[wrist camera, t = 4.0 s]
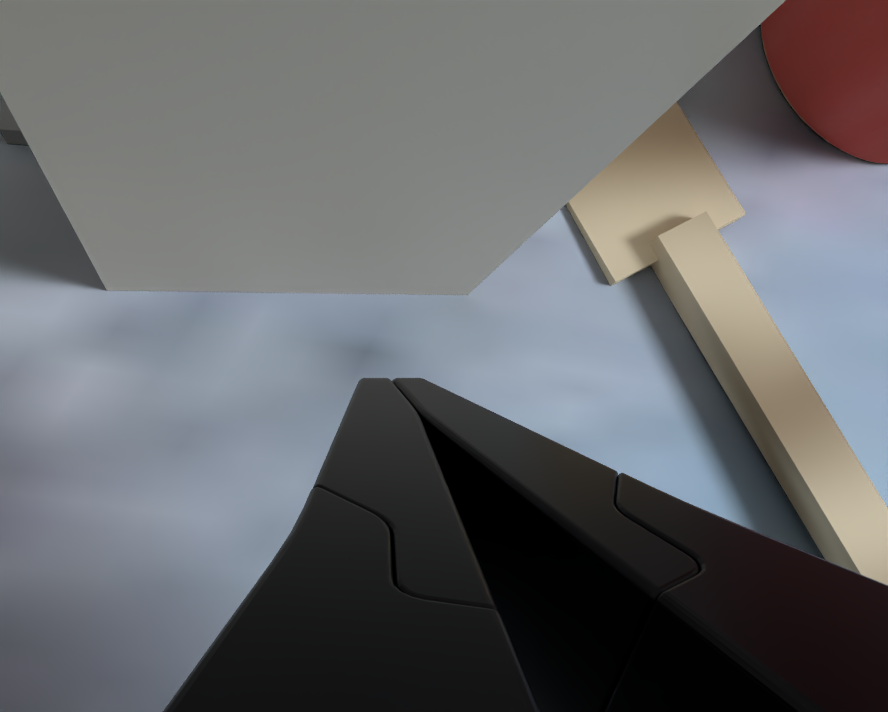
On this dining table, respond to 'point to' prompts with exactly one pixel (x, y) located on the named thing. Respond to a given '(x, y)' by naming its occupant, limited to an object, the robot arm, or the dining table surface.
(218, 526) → the dining table surface
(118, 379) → the dining table surface
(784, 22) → the flower pot
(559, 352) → the dining table surface
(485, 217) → the tile
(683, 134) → the spatula
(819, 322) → the dining table surface
